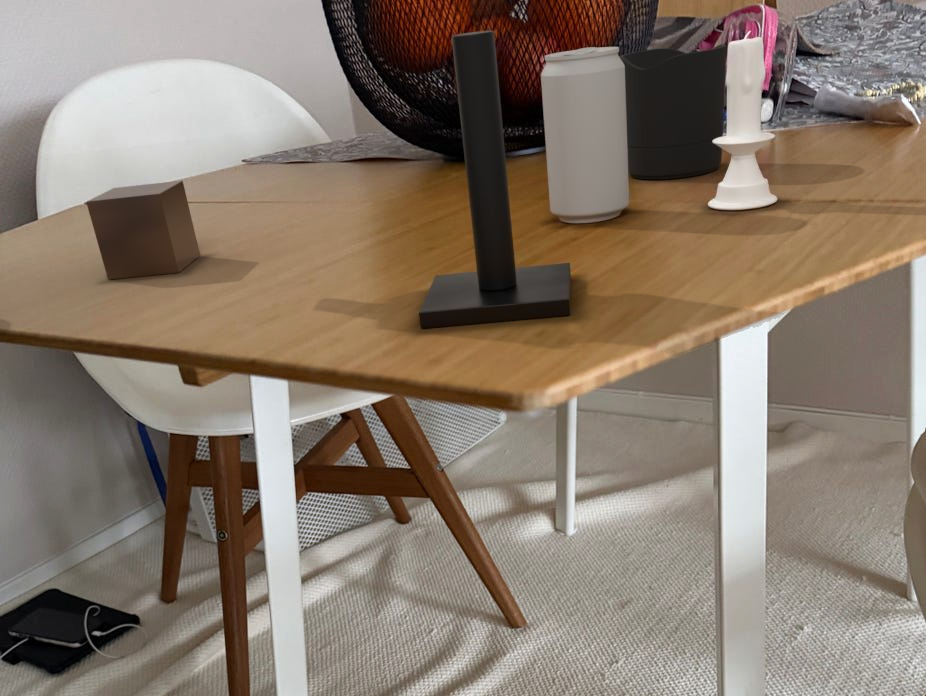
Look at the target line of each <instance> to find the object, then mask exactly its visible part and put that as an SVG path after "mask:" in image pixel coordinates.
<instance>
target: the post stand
mask: <svg viewBox="0 0 926 696" xmlns="http://www.w3.org/2000/svg"><path fill="white" fill-rule="evenodd" d="M495 38H496V37H495V31H494V30H482V31H481V30H480V31H473V32H465V33H458V34H453V35H452V36H451V44H452V53H453V62H454V71H455V79H456V80H455V81H456V91H457V101H458V107H459V108H458V109H459V117H460V127H461V136H462V137H461V138H462V144H463V146H462V147H463V154H464V165H465V173H466V182H467V191H468V201H469V209H470V210H469V211H470V219H471V220H470V221H471V231H472V237H473V247H474V255H475V256H474V257H475V265H476V271H469V272H468V271H467V272H458V273H457V272H456V273H448V274H447V273H446V274H436V275H435V276H434V278H433V280H432V282H431V285H430V287H429V289H428V290H427V293H426V296H425V298H424V300H423V302H422V305H421V307H420V309H419V312H418V317H419V323H420V328H421V330H422V329H433V328H443V327H444V328H445V327H455V326H467V325H477V324H489V323H490V324H491V323H498V322H511V321H523V320H533V319H534V320H535V319H543V318H545V319H546V318H557V317H567V316H571V288H572V287H571V286H572V282H571V281H572V276H571V264H570V262H563V263H553V264H540V265H531V266H521V267H516V259H515V249H514V238H513V227H512V226H513V225H512V215H511V204H510V193H509V192H510V191H509V183H508V171H507V161H506V160H507V159H506V149H505V136H504V128H503V127H504V125H503V114H502V106H501V105H502V104H501V94H500V84H499V83H500V82H499V71H498V61H497V60H498V59H497V50H496V49H497V48H496V39H495Z"/></svg>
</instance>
